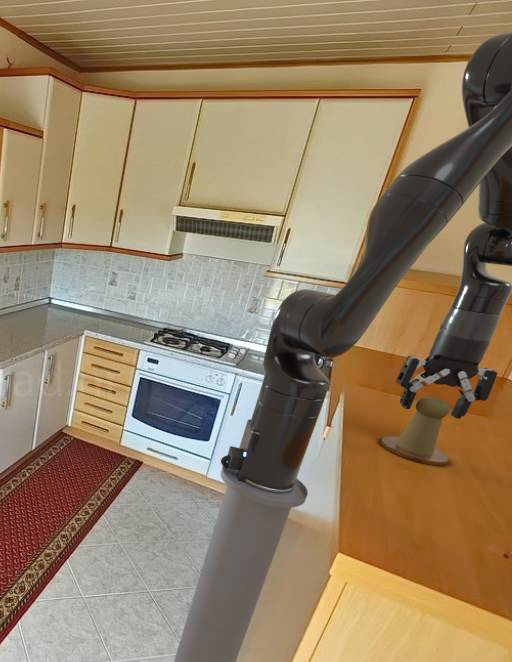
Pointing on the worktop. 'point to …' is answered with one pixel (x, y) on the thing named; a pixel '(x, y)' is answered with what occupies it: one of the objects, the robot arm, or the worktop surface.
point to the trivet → (434, 459)
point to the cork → (424, 426)
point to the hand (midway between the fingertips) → (430, 412)
